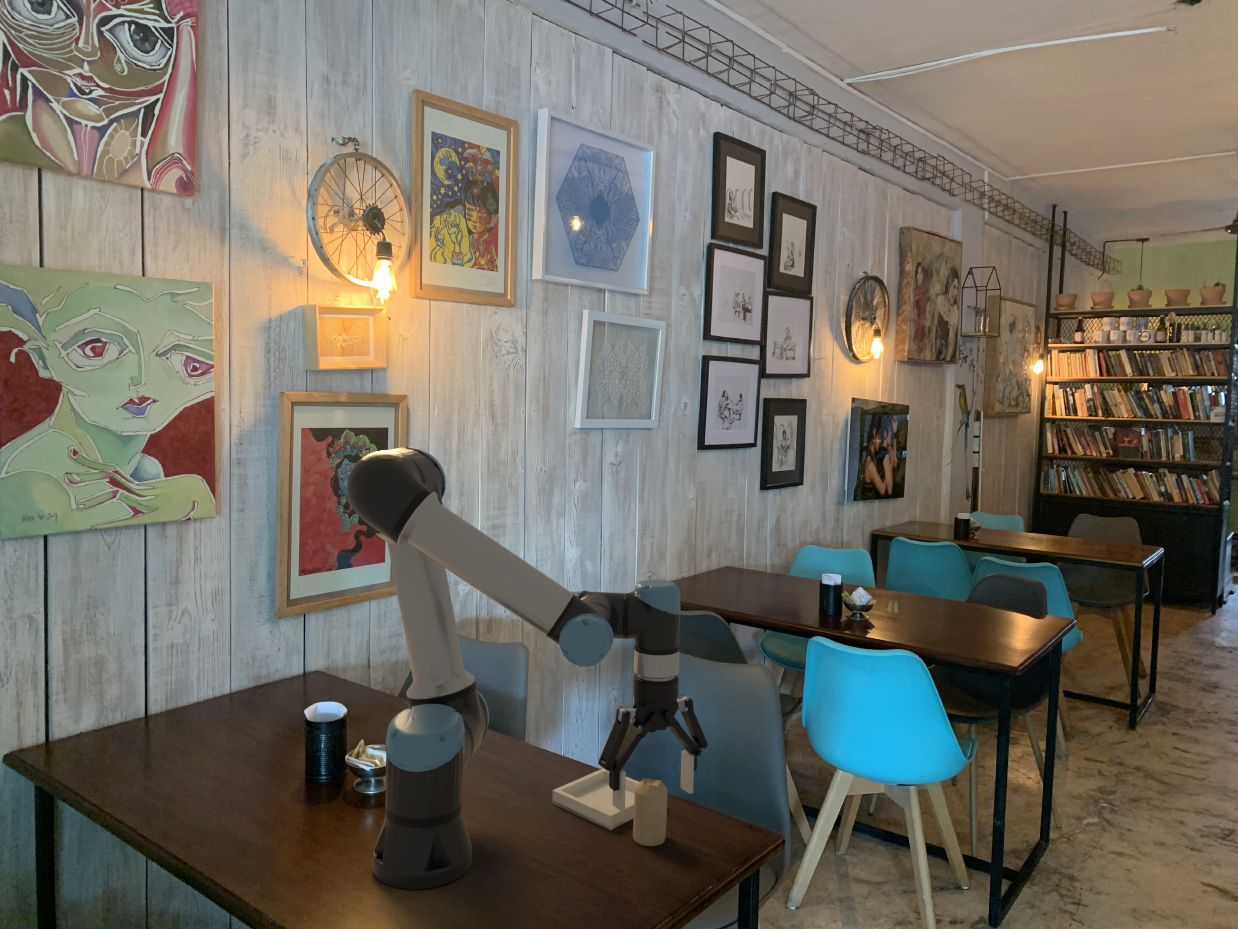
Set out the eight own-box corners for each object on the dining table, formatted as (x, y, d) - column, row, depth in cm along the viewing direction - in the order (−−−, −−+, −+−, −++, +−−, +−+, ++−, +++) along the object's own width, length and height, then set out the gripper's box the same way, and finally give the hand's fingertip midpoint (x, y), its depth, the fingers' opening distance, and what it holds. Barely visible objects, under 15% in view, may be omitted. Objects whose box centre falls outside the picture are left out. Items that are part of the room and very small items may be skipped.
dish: (661, 804, 161) (661, 790, 160) (610, 830, 150) (610, 816, 150) (604, 780, 170) (604, 767, 170) (552, 803, 159) (552, 790, 159)
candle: (666, 832, 150) (668, 775, 150) (664, 848, 145) (667, 789, 144) (634, 829, 151) (636, 772, 150) (631, 845, 145) (633, 786, 145)
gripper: (703, 658, 155) (700, 775, 157) (579, 679, 143) (577, 806, 144) (729, 670, 149) (726, 791, 151) (602, 692, 136) (599, 825, 138)
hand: (653, 799), depth 147 cm, fingers open, 13 cm apart
